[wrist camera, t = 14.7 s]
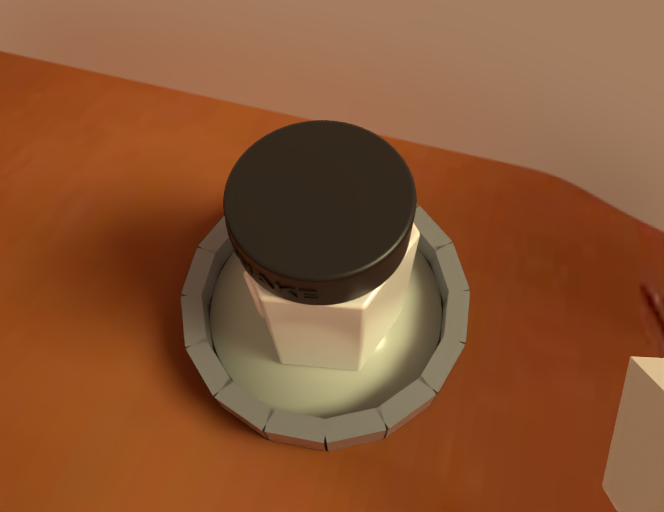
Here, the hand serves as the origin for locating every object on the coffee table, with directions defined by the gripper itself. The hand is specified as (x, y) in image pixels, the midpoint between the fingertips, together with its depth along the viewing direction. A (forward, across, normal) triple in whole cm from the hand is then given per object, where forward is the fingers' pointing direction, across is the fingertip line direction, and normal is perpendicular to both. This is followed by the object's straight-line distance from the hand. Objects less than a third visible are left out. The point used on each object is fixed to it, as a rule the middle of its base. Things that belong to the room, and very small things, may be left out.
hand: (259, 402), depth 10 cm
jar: (+22, 0, -8) cm, 24 cm away
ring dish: (+23, 0, -8) cm, 24 cm away
